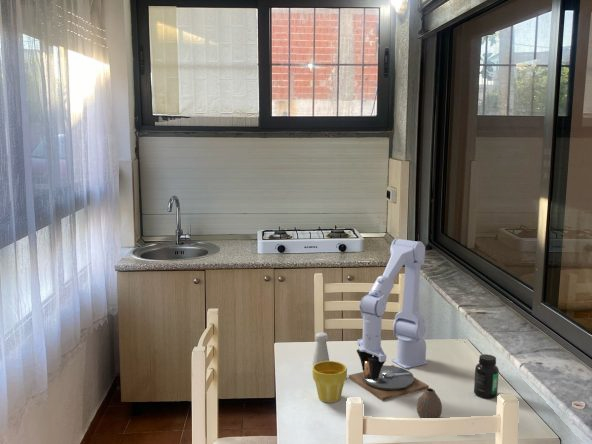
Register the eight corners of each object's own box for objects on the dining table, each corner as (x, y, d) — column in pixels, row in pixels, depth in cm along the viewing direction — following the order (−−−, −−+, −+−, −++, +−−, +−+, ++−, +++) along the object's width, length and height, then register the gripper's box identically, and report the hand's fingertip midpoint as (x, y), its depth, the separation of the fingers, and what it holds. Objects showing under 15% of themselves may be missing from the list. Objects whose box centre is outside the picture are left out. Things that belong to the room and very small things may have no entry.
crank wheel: (401, 367, 200) (402, 348, 199) (422, 387, 184) (423, 367, 183) (356, 370, 196) (356, 351, 195) (372, 392, 181) (373, 371, 180)
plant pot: (304, 396, 181) (305, 366, 179) (329, 387, 187) (329, 357, 186) (329, 409, 173) (329, 377, 171) (353, 398, 180) (354, 368, 178)
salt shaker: (328, 375, 196) (329, 337, 194) (311, 373, 197) (311, 336, 195) (330, 368, 202) (331, 331, 200) (314, 366, 203) (314, 329, 201)
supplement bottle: (500, 399, 180) (502, 361, 178) (477, 399, 180) (479, 361, 178) (492, 389, 187) (495, 353, 185) (471, 389, 187) (473, 352, 185)
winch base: (393, 367, 203) (393, 364, 202) (428, 388, 187) (428, 385, 187) (348, 378, 194) (348, 375, 194) (382, 400, 179) (382, 397, 178)
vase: (413, 413, 171) (414, 384, 170) (436, 412, 172) (438, 384, 170) (420, 425, 164) (421, 395, 163) (444, 424, 165) (446, 395, 163)
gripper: (349, 327, 190) (348, 367, 193) (372, 343, 177) (371, 386, 180) (368, 324, 193) (367, 364, 195) (392, 340, 180) (391, 382, 182)
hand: (370, 374), depth 188 cm, fingers open, 5 cm apart
